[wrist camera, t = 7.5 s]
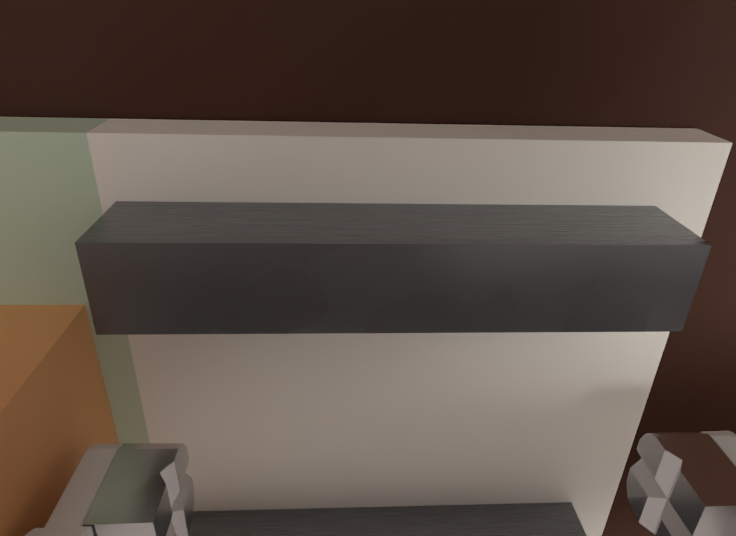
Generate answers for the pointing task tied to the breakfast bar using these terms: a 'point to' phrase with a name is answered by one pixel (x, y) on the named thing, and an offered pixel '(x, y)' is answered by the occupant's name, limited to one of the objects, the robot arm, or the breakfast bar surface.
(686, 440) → the robot arm
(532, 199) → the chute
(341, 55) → the breakfast bar surface
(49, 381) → the orange block
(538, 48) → the breakfast bar surface
